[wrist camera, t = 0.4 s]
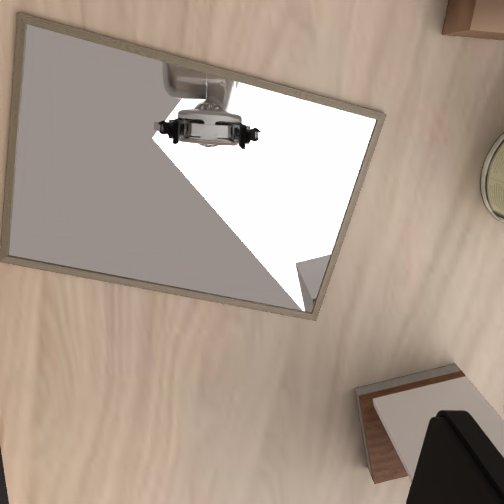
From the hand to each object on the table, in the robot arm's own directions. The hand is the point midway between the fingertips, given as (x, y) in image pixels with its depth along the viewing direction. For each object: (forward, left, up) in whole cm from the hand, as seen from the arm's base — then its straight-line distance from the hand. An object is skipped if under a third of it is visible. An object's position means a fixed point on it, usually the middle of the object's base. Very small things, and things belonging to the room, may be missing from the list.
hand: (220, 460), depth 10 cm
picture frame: (+1, -2, -30) cm, 30 cm away
